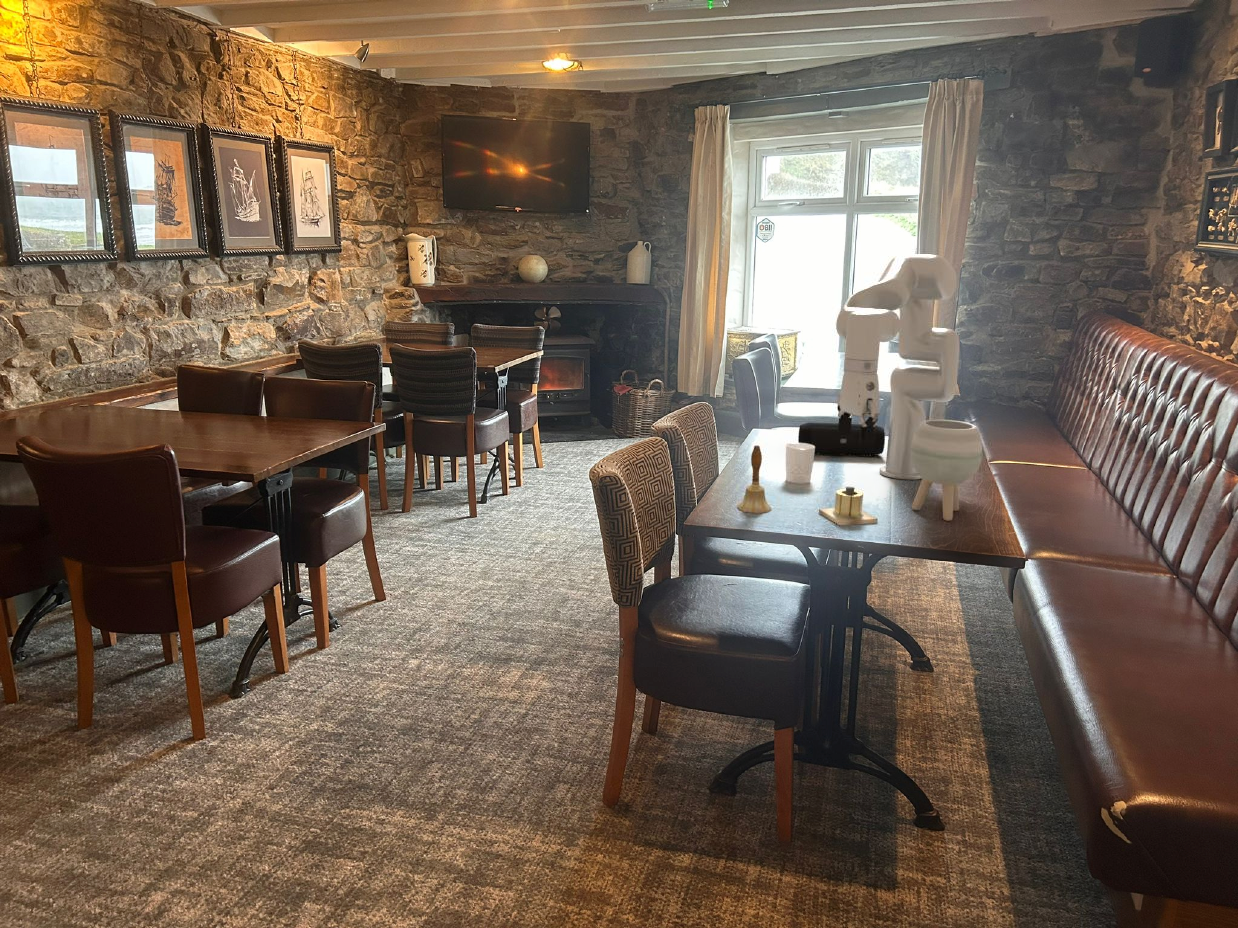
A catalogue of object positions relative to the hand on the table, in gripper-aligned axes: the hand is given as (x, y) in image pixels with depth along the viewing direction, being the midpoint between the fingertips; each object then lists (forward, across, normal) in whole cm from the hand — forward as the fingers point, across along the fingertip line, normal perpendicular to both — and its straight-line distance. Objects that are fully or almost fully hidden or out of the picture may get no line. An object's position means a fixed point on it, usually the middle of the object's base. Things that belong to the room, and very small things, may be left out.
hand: (854, 438), depth 200 cm
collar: (+18, 0, 0) cm, 18 cm away
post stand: (+19, 0, 0) cm, 19 cm away
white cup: (+20, +34, -4) cm, 39 cm away
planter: (+20, -2, -24) cm, 31 cm away
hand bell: (+20, +12, +19) cm, 30 cm away
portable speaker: (+21, +61, -32) cm, 71 cm away
